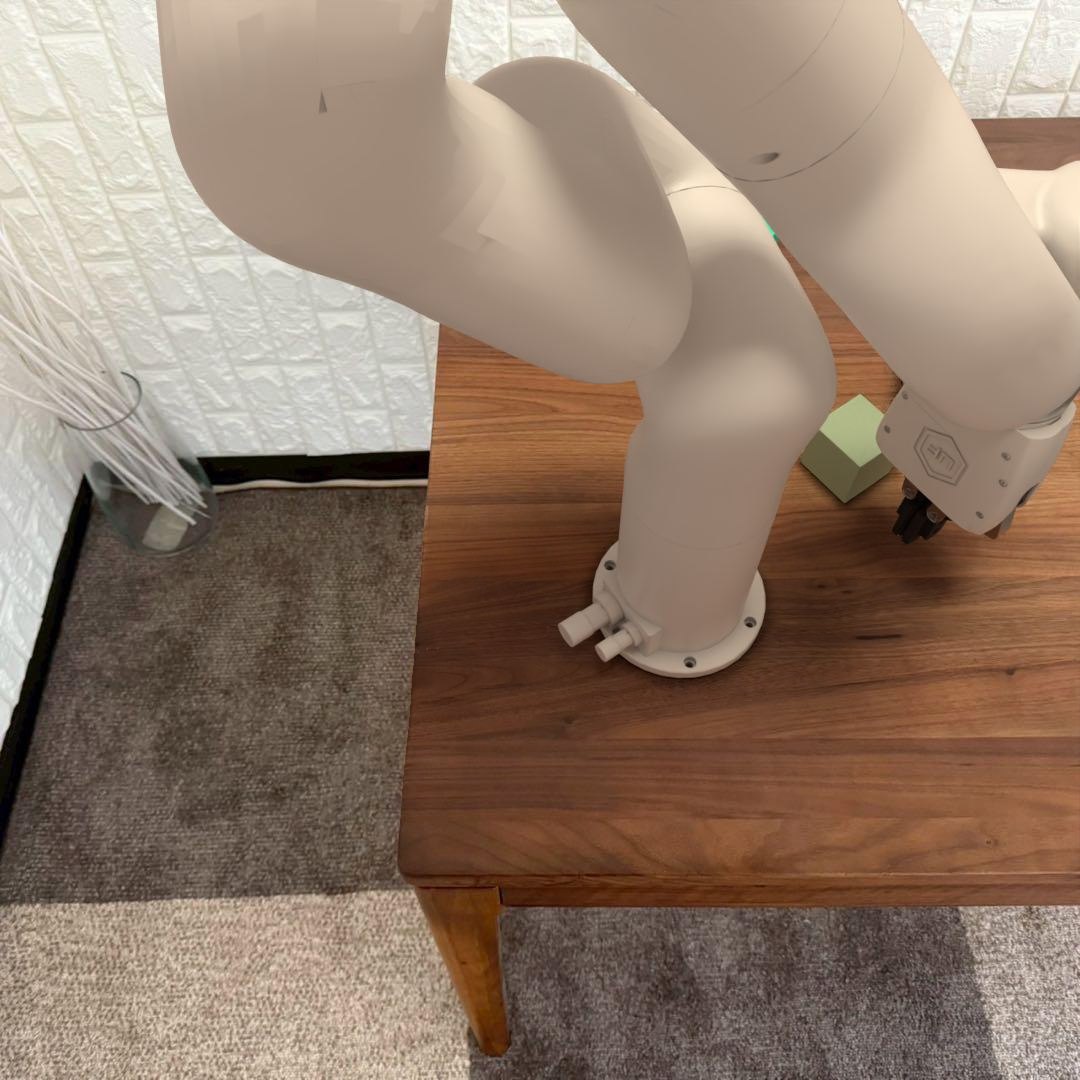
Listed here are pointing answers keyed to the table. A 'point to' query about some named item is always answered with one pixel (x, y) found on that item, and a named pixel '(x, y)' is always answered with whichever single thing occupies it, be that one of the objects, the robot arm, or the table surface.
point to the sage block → (848, 449)
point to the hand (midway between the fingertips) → (912, 529)
